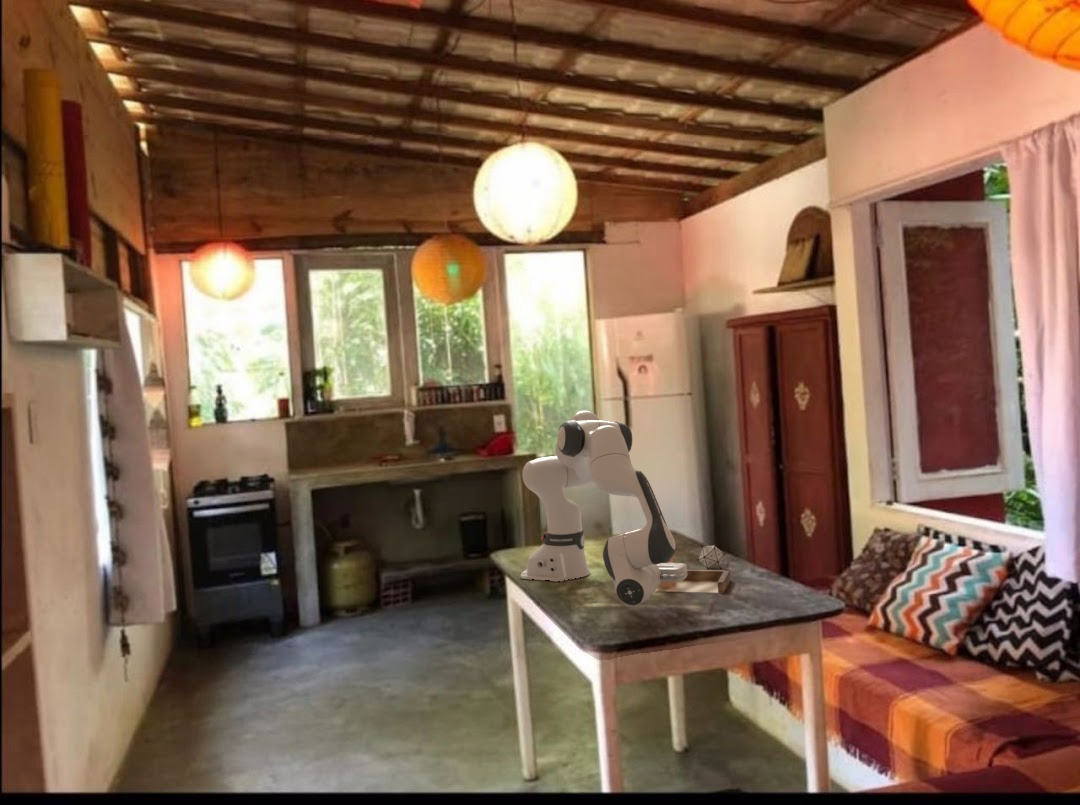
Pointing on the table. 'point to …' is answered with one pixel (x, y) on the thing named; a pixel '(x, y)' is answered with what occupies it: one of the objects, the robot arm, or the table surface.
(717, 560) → the game die
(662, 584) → the terracotta block
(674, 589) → the board
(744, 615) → the table surface
